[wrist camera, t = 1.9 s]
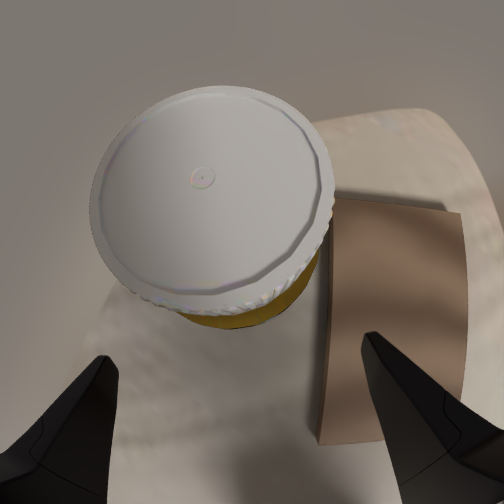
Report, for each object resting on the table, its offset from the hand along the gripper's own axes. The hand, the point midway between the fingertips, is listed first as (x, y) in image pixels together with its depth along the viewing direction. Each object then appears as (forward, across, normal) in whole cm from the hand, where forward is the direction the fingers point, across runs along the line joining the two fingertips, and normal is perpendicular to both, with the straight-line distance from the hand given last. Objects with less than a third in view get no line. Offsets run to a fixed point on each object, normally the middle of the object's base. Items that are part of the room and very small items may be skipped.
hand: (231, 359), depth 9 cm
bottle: (+11, 0, +5) cm, 12 cm away
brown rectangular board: (+7, -12, +8) cm, 16 cm away
